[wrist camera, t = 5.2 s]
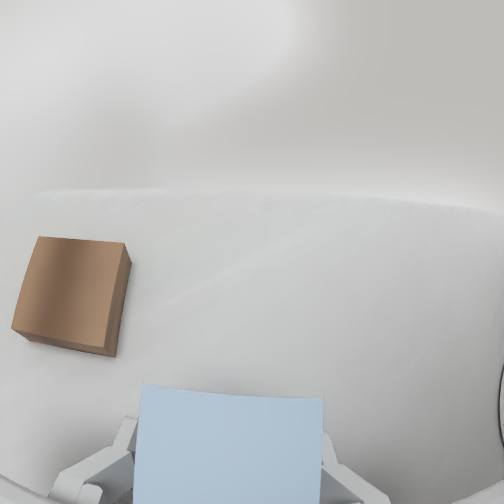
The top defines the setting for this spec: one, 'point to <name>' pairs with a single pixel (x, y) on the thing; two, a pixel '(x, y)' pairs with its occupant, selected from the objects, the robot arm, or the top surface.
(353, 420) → the top surface
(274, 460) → the pillar
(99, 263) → the base block
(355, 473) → the robot arm
